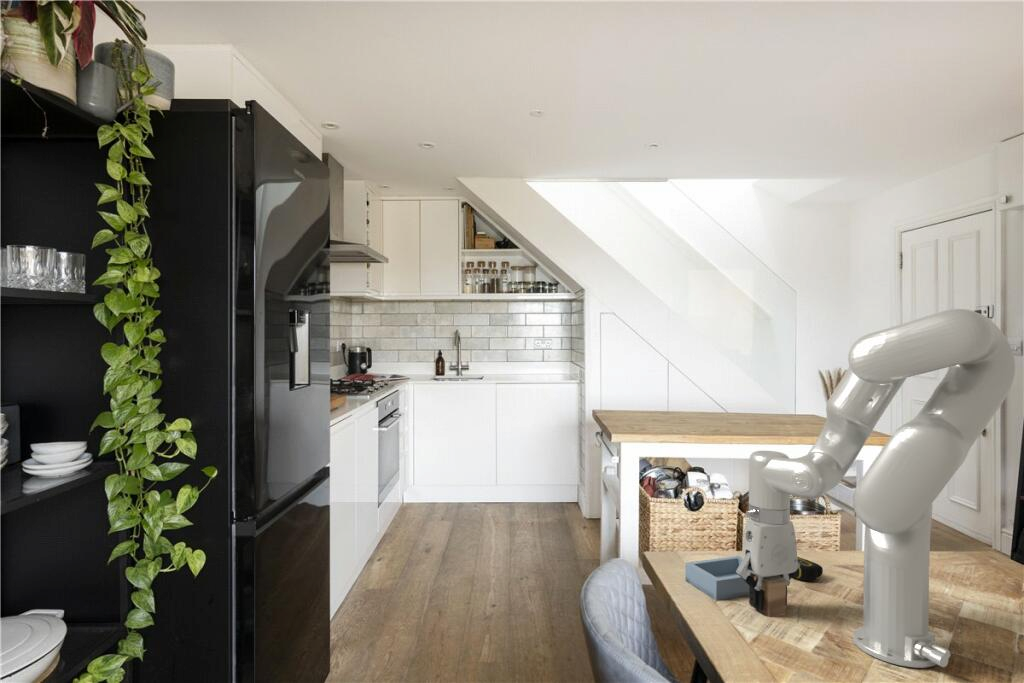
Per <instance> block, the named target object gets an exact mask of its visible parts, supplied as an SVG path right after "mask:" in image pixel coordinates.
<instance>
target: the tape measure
mask: <svg viewBox="0 0 1024 683" xmlns="http://www.w3.org/2000/svg"><path fill="white" fill-rule="evenodd" d="M797 561H798V563H799V564H800V566H799V568H798V569H797V570H796V571H795V572H794V575H793V577H792V578H795V579H797V580H800V581H814V580H816V579H818V578H820V577H821V576H822V575H823V572H824V570H823V569H824V568H823V567H822V566H821V565H820V564H818V563H817V562H814V561H811V560H809V559H804V558H802V557H800V556H797Z"/></svg>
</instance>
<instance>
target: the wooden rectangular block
mask: <svg viewBox="0 0 1024 683" xmlns="http://www.w3.org/2000/svg"><path fill="white" fill-rule="evenodd" d="M756 577H757V576H756V575H755V577H754V580H755V581H756ZM761 590H763V592H764V595H763V610H762V611H759V610H758V609H756V608H754V607H753V606H751V605H750V606H751V608H752V609H753V608H754V609H755V610H757V611H758V612H760V613H761V614H763V615H765V616H767V617H768V618H772V617H778V616H783V615H786V613H787V612H786V607H787V606H786V578H784V577H782V576H780V575H777V576H770V577H764V578H763V582H762V586H761Z"/></svg>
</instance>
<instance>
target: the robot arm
mask: <svg viewBox="0 0 1024 683" xmlns="http://www.w3.org/2000/svg"><path fill="white" fill-rule="evenodd" d="M847 355H848V356H847V361H848V368H847V370H846V371H845V373H844V375H843V376H842V378H841V380H840V381H839V383H838V384H837V386H836V387H835V389H834V391H833V392H832V394H831V396H830V397H829V399H827V400H828V401H827V403H826V406H825V407H826V408H825V409H826V421H825V423H824V426H823V428H822V430H821V432H820V433H819V436H818V437H817V439H816V440H815V442H814V444H813V445H812V446H811V448H810V450H809V452H808V453H807V454H805V455H804V456H802V457H796V458H790V457H789V455H787V454H786V453H784V452H779V451H774V450H756V451H753V452H751V454H750V456H749V462H748V468H749V470H748V478H749V479H748V510H746V511H745V516H746V517H747V518H748V519H747V520H746V523H745V525H744V527H745V528H744V533H743V539H742V549H741V550H742V552H741V553H742V554H741V557H742V562H741V564H740V565H739V567H738V568H737V570H736V573H737V574H738V575H739V576H740V577H741V578H743V580H744V581H745V582H746V584H747V585H748V586H749V595H748V596H749V597H748V601H749V602H748V604H749V605H750V606H753V607H754V609H755V608H756V609H758V610H759V611H758V610H757V611H758V612H760V611H762V610H763V595H764V592H763V590H761V586H762V582H763V578H764V577H770V576H777V575H780V576H782V577H784V578H786V607H787V606H788V587H789V586H790V584H791V579H792V578H794V577H793V575H794V572H795V571H796V570H797V569H798V568H799V566H800V564H799V563H798V561H797V557H798V548H797V536H796V530H795V527H794V524H793V523H794V522H793V521H792V520H791V496H794V497H797V498H800V499H804V500H813V499H814V500H816V499H818V498H820V497H822V496H823V495H825V494H826V493H827V492H829V491H831V490H833V489H835V488H836V486H838V485H839V484H840V482H841V481H842V479H843V478H844V477H845V475H846V474H847V473H848V471H849V470H850V468H851V467H852V465H853V463H854V462H855V460H856V459H857V457H858V455H859V454H860V452H861V450H862V449H863V447H864V445H865V444H866V442H867V440H868V439H869V437H870V436H871V435H872V434H873V431H874V428H875V427H876V426H877V424H878V422H879V420H880V419H881V417H882V416H883V414H884V413H885V411H886V410H887V408H888V407H889V404H891V402H892V401H893V399H894V398H895V396H896V394H897V393H898V392H899V390H900V389H901V387H902V386H903V385H904V383H905V381H906V380H907V378H910V377H916V376H919V375H923V374H927V373H931V372H934V371H939V370H943V369H945V368H948V370H947V372H946V374H945V375H944V377H943V378H942V379H941V381H940V383H939V384H938V385H937V386H936V387H935V389H934V391H933V393H932V394H931V396H930V398H929V399H928V400H927V401H926V403H925V404H924V406H923V407H922V408H921V410H919V412H918V413H917V415H916V416H915V417H914V418H913V419H911V420H909V421H907V422H906V423H905V424H904V423H903V424H902V425H901V426H900V427H898V429H896V431H894V433H893V434H892V435H891V436H890V438H889V439H888V441H887V442H886V444H885V445H884V446H883V448H881V450H880V452H879V453H878V455H876V458H875V459H874V460H873V462H872V463H871V465H870V466H869V467H868V468H867V470H866V472H865V473H864V475H863V476H862V478H861V479H860V480H859V482H858V483H857V485H856V486H855V489H854V491H853V493H852V494H853V495H852V505H853V509H854V512H855V515H856V516H857V518H858V520H859V521H860V522H861V523H862V524H863V525H864V526H865V527H864V543H863V548H864V549H863V550H864V553H863V607H862V608H863V609H862V611H863V615H862V617H863V619H862V621H863V622H862V624H863V625H862V626H859V627H857V628H855V629H854V630H853V633H852V640H853V642H854V644H855V645H856V646H857V647H858V648H859V649H861V651H863V652H864V653H865V654H867V655H870V656H871V657H874V658H875V659H879V660H880V661H883V662H886V663H889V664H893V665H898V666H900V667H907V668H913V669H914V668H918V669H924V668H930V667H934V666H936V665H937V666H940V667H942V668H946V667H947V666H948V664H949V659H950V657H951V651H950V650H948V649H946V648H944V647H942V646H940V645H937V643H936V633H934V632H931V631H930V630H929V629H930V628H929V618H930V617H929V616H930V615H929V614H930V613H929V611H930V610H929V608H930V603H929V602H930V565H931V563H930V560H931V559H930V557H931V556H930V552H931V551H930V550H931V529H932V518H933V517H932V515H933V502H934V501H935V500H936V499H937V497H939V495H940V494H941V492H942V491H943V490H944V488H945V487H946V486H947V484H948V483H949V482H950V480H951V479H952V477H953V476H954V475H955V474H956V473H957V471H958V470H959V469H960V467H961V466H962V465H963V464H964V463H965V461H966V458H967V456H968V454H969V452H970V451H971V449H972V447H973V445H974V444H975V442H976V441H977V439H979V438H980V435H981V434H982V432H984V430H985V429H986V427H987V426H988V425H989V423H990V421H991V420H992V419H993V417H994V416H995V414H996V413H997V412H998V410H999V409H1000V407H1001V406H1002V404H1003V403H1004V401H1005V399H1006V398H1007V396H1008V395H1009V392H1010V391H1011V389H1012V386H1013V384H1014V380H1015V375H1016V359H1015V358H1016V357H1015V354H1014V351H1013V348H1012V346H1011V343H1010V342H1009V340H1008V339H1007V337H1006V336H1005V334H1004V333H1003V332H1002V330H1001V329H1000V328H999V327H998V326H997V325H996V323H995V322H993V321H992V320H991V319H990V318H989V317H987V316H985V315H984V314H982V313H981V312H980V313H979V312H976V311H974V310H970V309H965V308H953V309H951V308H950V309H947V310H943V311H939V312H936V313H933V314H930V315H927V316H924V317H921V318H918V319H914V320H911V321H908V322H904V323H902V324H898V325H895V326H892V327H889V328H885V329H881V330H878V331H875V332H871V333H867V334H865V335H863V336H861V337H859V338H858V339H857V340H856V341H855V342H854V343H853V344H852V346H851V348H850V349H849V352H848V354H847ZM748 570H749V573H747V571H748ZM755 575H756V576H757V577H756V581H755V580H754V577H755ZM753 607H752V608H753ZM756 609H755V610H756Z"/></svg>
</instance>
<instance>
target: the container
mask: <svg viewBox="0 0 1024 683" xmlns="http://www.w3.org/2000/svg"><path fill="white" fill-rule="evenodd" d="M741 562H742V556H740V555H734V556H727V557H719V558H711V559H704V560H697V561H696V560H695V561H690V562H685V581H686V583H688V584H690V585H692V586H693V587H695V588H696V589H698V590H699V591H701V592H702V593H704V594H706V595H707V596H709V597H710V598H711V599H714V600H715V601H720V600H725V599H732V598H733V599H734V598H739V597H745V596H749V586H748V585H747V584H746V582H745V581H744V580H743V578H741V577H740V576H739V575H738V574H737V573H736V570H737V568H738V567H739V565H740V564H741ZM747 573H749V570H748V571H747Z"/></svg>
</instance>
